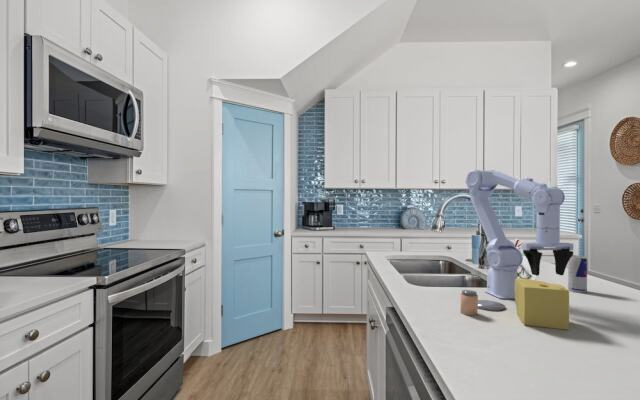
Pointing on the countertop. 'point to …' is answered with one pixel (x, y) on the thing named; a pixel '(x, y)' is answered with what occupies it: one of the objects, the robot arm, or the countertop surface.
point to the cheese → (542, 304)
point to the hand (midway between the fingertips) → (547, 274)
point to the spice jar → (469, 303)
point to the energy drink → (577, 274)
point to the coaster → (490, 305)
